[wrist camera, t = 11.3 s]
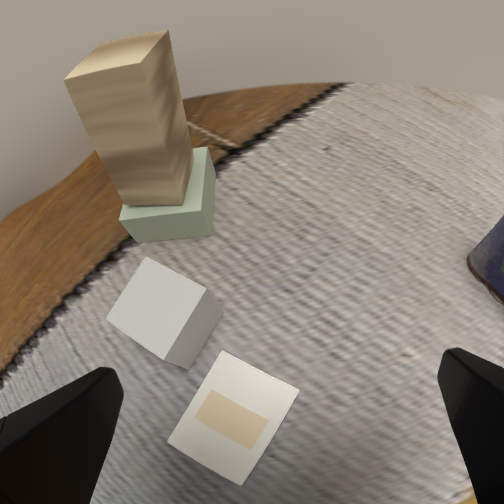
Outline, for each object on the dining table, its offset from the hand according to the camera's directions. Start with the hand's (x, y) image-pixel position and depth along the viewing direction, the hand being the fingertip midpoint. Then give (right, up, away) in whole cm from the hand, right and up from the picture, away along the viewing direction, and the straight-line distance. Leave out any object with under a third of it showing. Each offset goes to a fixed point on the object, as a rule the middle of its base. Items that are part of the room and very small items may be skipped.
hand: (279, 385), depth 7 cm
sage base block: (-8, +7, +21) cm, 23 cm away
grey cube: (-6, -2, +15) cm, 17 cm away
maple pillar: (-8, +9, +17) cm, 21 cm away
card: (-2, -8, +11) cm, 14 cm away
